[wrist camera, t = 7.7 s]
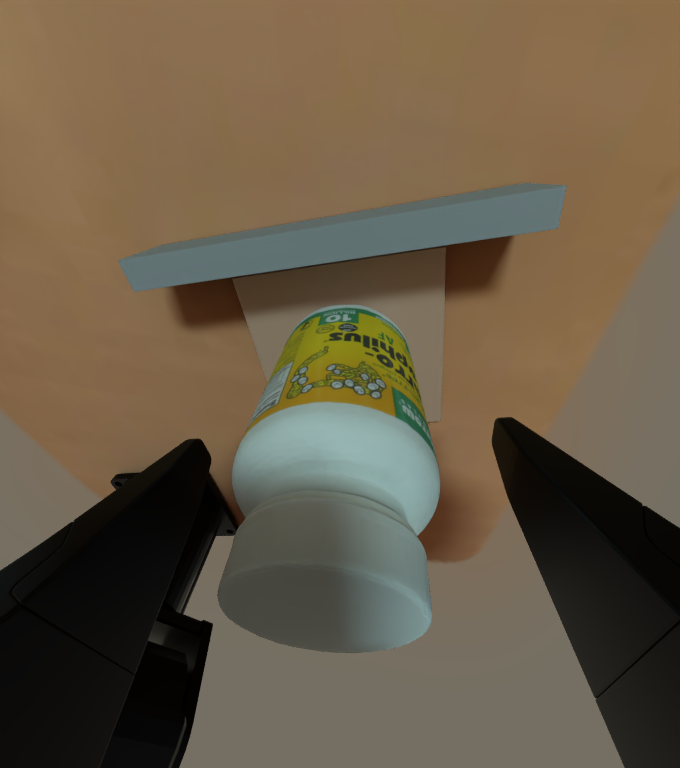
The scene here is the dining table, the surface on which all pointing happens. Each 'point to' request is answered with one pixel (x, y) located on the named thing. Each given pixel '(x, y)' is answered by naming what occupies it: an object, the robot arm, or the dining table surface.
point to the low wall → (351, 236)
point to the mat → (356, 287)
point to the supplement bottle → (335, 492)
